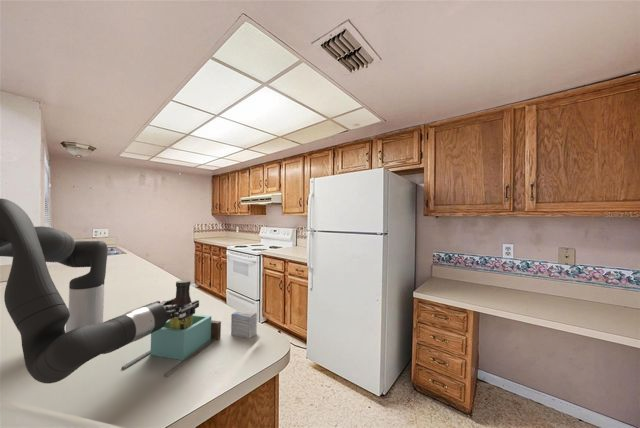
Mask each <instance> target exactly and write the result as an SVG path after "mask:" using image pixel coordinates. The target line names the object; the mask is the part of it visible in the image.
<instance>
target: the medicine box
mask: <svg viewBox="0 0 640 428" xmlns="http://www.w3.org/2000/svg"><path fill="white" fill-rule="evenodd" d="M257 316H258V315H257V312H254V311H248V310H242V309H239V310H237V311H234V312H233V313H231V317H230V318H231V321H230V322H231V324H230V335H231V336H237V337H241V338H246V339H251V338H252V337H254V336H255V335H257V327H258V326H257V325H258V324H257V319H258V318H257Z"/></svg>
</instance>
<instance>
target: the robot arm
mask: <svg viewBox="0 0 640 428" xmlns="http://www.w3.org/2000/svg"><path fill="white" fill-rule="evenodd" d="M108 253H109V252H108V245H107V243H106V242H105V241H104V240H103V241H102V240H76V241H75V240H74V238H73V236H71V235H70V234H69V233H68V232H64V231H62V230H59V229H57V228H53V227H50V226H35V225H34V223H33V221H32V219H31V218H30V216H29V215H28V213H26V211H25V210H24V209H23V208H22V207H20V206H19V205H18V204H16V203H15V202H13V201H12V200H9V199H5V198H0V257H4V258H5V257H10V258H12V261H11V262H12V263H11V267H10V271H9V275H8V277H7V280H6V285H5V289H4V297H3V299H4V301H3V302H4V304H5V308H6V311H7V313H8V315H9V316H10V318H11V320H12V322H13V324H14V325H15V328H16V329H17V331H18V332H19V334H20V341H21V349H22V355H23V359H24V363H25V368H26V370H27V371H28V374H29V375H30V376H31V377H32V378H33V379H34V380H35V381H37V382H38V383H41V384H55V383H58V382H60V381H63V380H64V379H66V378H68V376H71V374H73V373H74V372H75V371H76V370H78V369H79V368H80V367H81V366H83V365H85V364H86V363H87V362H89V361H91V360H92V359H95V358H96V357H98V356H100V355H105V354H106V355H107V354H109V353H113V352H114V351H117V350H119V349H121V348H123V347H125V346H126V345H129V344H132V343H135V342H137V341H139V340H141V339H143V338H145V337H147V336H149V335H151V333H153V332H155V331H157V330H159V329H161V328H162V327H163V326H164V325H165V323H166V322H167V321H168V320H171V319H173V318H176V317H178V320H183V319H185V318H187V317H189V316H191V315H193V314H196V309H197V308H199V306H200V300H198V299H195V300H194V301H191V303H189V304H185V305H183V304H176V305H171V304H172V302H173V301H174V299H175V297H173V298H171V299H168V300H162V301H160V300H156V301H154V302H151V303H148V304H145V305H142V306H140V307H137V308H134V309H131V310H129V311H126V312H125V313H123V314H121V315H118V316H116V317H114V318H110V319H108V320H106V321H104V304H105V303H104V302H105V282H106V281H105V279H106V273H107V271H106V270H107V263H108V262H107V261H108ZM47 263H58V264H61V265H64V266H65V267H69V268H90V269H89V272H87V273H86V274H83V275H80V276H77V277H74V278H72V279H71V280H69V283H68V284H69V286H68V305H67V304H66V302H65V301H64V299H63V298H62V295H61V294H60V292H59V290H58V289H57V287H56V285H55V283H54V281H53V279H52V276H51V274H50V271H49V269H48V265H47ZM177 307H180V311H179V312H177ZM184 307H186V308H184Z"/></svg>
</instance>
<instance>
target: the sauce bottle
mask: <svg viewBox="0 0 640 428" xmlns="http://www.w3.org/2000/svg"><path fill="white" fill-rule="evenodd" d="M190 286H191V280H189V279H183V280H178V281H176V282H175V287H176V288H175V289H176V290H175V297H174V298H175V299H174V298H173V299H174V301H173V302H172V304H171V305H176V304H183V305H185V304H189V303H191V302H192V299H191V295H190V293H191V292H190ZM184 308H186V307H184ZM179 311H180V307H177V312H179ZM192 317H193V315H191V316H189V317H187V318H185V319H183V320H178V317H176V318H173V319H171V320H170V328H172V329H180V330H185V329H186V328H188V327H190V326H192Z"/></svg>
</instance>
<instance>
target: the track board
mask: <svg viewBox="0 0 640 428" xmlns="http://www.w3.org/2000/svg"><path fill="white" fill-rule="evenodd" d="M221 324H222V321H220V320H212V319H211V340H210V341H209V342H207V343H206V344H205V345H203V346H202V347H201V348H199V349H198V350H197V351H195V352H194V353H192V354H191V355H190V356H188V357H187V358H186V359H184V360H181V361H180V362H179V363H178V364H176V365H175V366H173V367H172V368H171V369H170V370H168V371H166V372H165V373H164V377H165V378H166V377H167V378H169V377H170V376H171V375H173V373H175V372H176V371H177V370H179V369H180V368H182V367H183V366H184V365H185V364H187V363H188V362H190V361H191V360H192V359H193V358H195V357H196V356H197V355H198V354H200V353H201V352H203V351H205V349H206V348H208V347H210V345H212V344H213V343H214V342H216V341H219V340H220V339H221V336H222V335H221V334H222V333H221V332H222V325H221ZM150 352H151V349H150V350H148V351H147V352H145V353H143V354H141V355H139V356H138V357H136V358H134V359H132V360H131V361H129V362H127V363H126V364H124V365H122V366H121V370H126V369H128V368H130V367H131V366H133V365H134V364H136V363H137V362H140V361H141V360H143V359H144V358H146V357H148V356H149V355H150Z"/></svg>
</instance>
